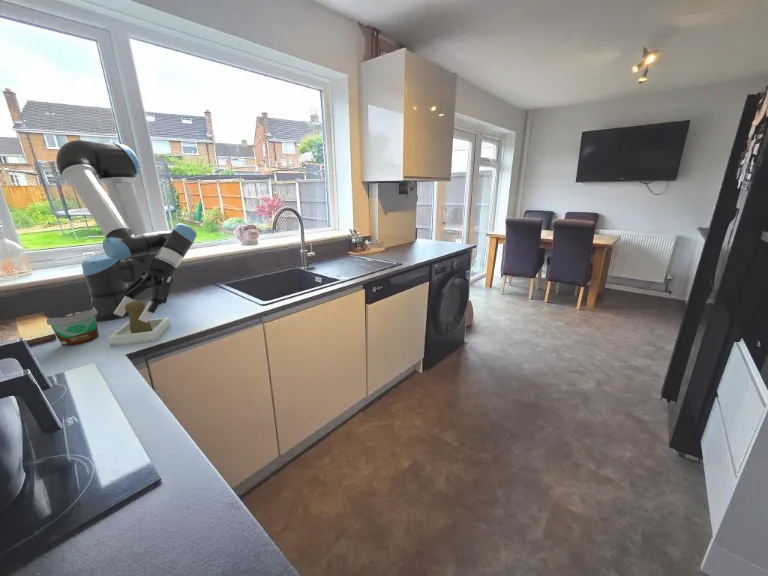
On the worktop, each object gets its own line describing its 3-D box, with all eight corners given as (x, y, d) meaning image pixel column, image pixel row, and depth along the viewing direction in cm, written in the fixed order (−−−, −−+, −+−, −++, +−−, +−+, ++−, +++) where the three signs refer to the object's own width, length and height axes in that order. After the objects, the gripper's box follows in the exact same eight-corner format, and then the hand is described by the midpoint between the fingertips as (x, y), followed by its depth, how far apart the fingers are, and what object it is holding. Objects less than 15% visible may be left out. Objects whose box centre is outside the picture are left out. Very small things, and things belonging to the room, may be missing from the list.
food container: (61, 351, 99) (51, 321, 96) (55, 347, 102) (44, 317, 99) (110, 336, 109) (102, 308, 106) (103, 332, 112) (94, 305, 109)
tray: (129, 329, 114) (127, 321, 113) (170, 324, 117) (168, 317, 117) (110, 346, 102) (108, 337, 101) (157, 340, 106) (155, 332, 105)
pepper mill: (141, 337, 106) (132, 305, 103) (126, 335, 107) (117, 304, 104) (157, 329, 112) (149, 299, 109) (142, 328, 113) (134, 298, 110)
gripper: (197, 271, 112) (164, 328, 104) (152, 266, 122) (118, 317, 114) (180, 260, 106) (142, 319, 98) (134, 255, 116) (96, 308, 107)
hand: (129, 318), depth 106 cm, fingers open, 13 cm apart
